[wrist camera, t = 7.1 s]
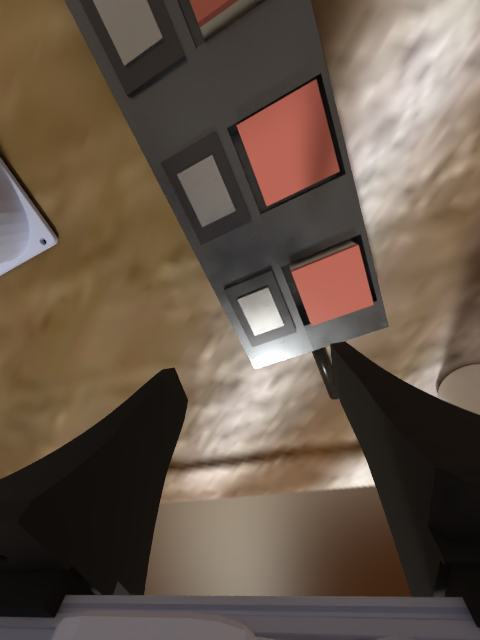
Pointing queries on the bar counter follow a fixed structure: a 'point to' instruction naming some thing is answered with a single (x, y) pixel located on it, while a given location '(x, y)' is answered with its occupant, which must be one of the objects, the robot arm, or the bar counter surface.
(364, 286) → the button
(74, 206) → the bar counter surface
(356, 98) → the bar counter surface
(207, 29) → the button
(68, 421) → the bar counter surface
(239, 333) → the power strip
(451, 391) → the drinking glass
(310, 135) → the button
